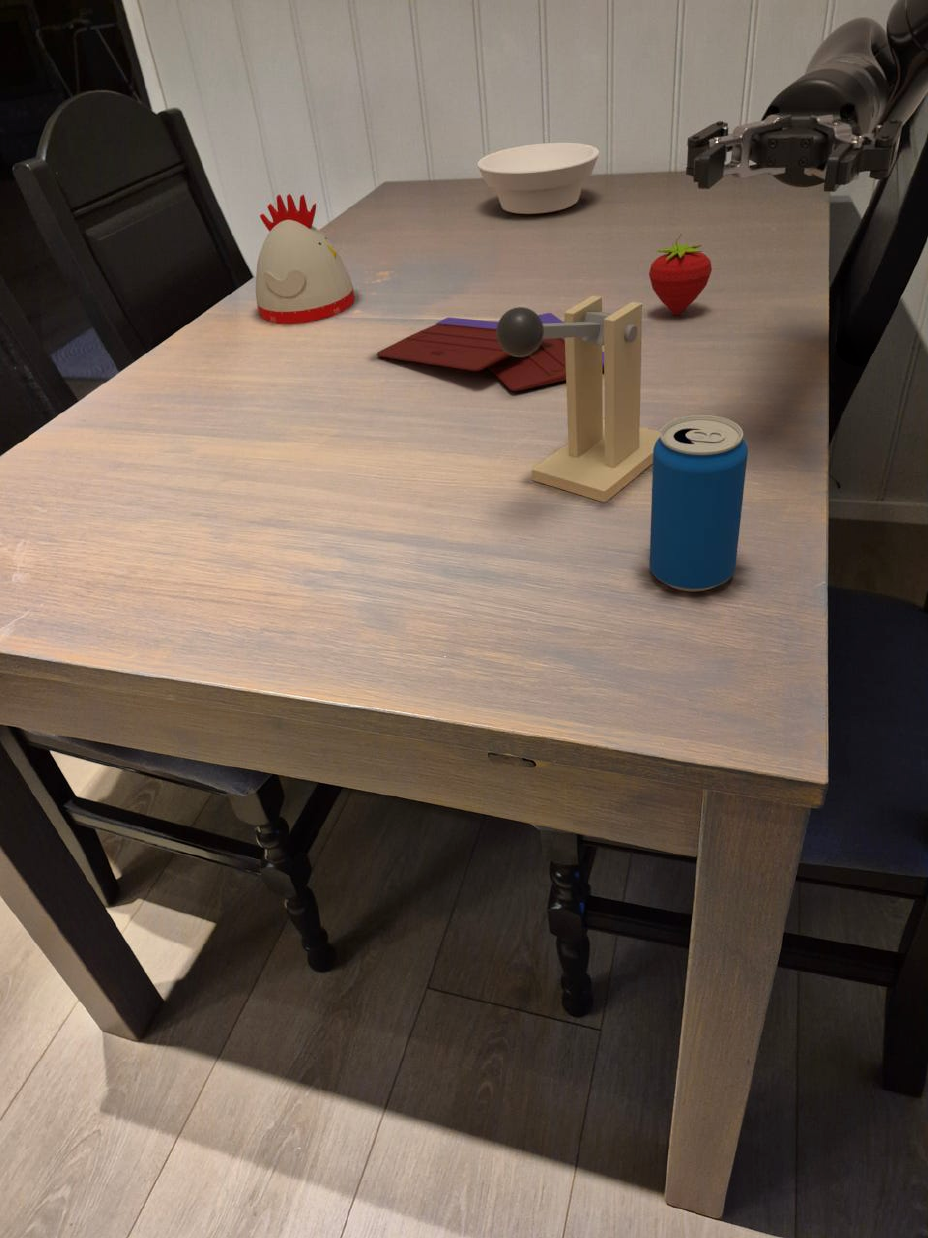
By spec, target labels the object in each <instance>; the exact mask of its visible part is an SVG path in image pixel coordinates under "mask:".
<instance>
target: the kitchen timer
mask: <svg viewBox="0 0 928 1238" xmlns="http://www.w3.org/2000/svg"><path fill="white" fill-rule="evenodd" d="M282 197H283V196H282V195H281V194H280V193H279V194H278V195H276V208H275V207H274V205H273V204H272V203H269V204H268V205H267V210H268V212H269V215H270V217H271V220H272V221H271V220H270V219H268V217H267V216H266V215H265V214H264V213H261V214H260V215H259V218H260V220H261V221H262V223H263V225H264V226H265V228H266V229H267V231H268V233H267V235H266V237H265V239H264V241H263V243H262V246H261V248H260V251H259V254H258V258H257V263H256V272H255V273H256V274H255V300H256V305H257V310H258V313H259V316H260V317H261V319H263V320H265V321H267V322H269V323H274V324H284V325H285V324H286V325H287V324H290V325H291V324H292V325H293V324H303V323H304V324H305V323H310V322H315V321H319V320H324V319H327V318H331V317H333V316H335V315H338V314H341V313H342V312H344V311H346V310H347V309H349V308H350V307H352V305H353V304H354V303H355V293H354V288H353V282H352V280H351V277H350V275H349V272H348V269H347V268H346V267H345V264H344V262H343V260H342V258H341V256H340V254H339V253H338V251H337V249H336V247H334V245H333V243H332V242H331V241H330V240H329V239H328V238H327V237H326V236H325V235H324V234H323V233H322V232H321V231H320V230H319V229H318V228H317V227H316V226H314V225H313V224H314V220H315V215H316V211H317V203H314V204H312V207H311V208H310V210H309V209H308V206H307V205H308V204H307V201H306V196H305V194H301V195H300V196H299V202H298V203H299V205H298V208H297V206H296V204H295V202H294V199H293V197H292V195H291V193H289V194H287V195H286V201H287V202H286V203H287V204H286V205H287V206H286V205H285V203H284V200H283V198H282Z"/></svg>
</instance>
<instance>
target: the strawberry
mask: <svg viewBox="0 0 928 1238" xmlns="http://www.w3.org/2000/svg"><path fill="white" fill-rule="evenodd" d="M682 234H683V233H680V235H679V236H678V237H677V239H676V240H675V243H674V242H672V247H669V248H664V249H658V250H656V252H657V253H665V254H663V255H660V256H657V258H656V259H655V260H654V261H653V262H652V263H651V265H650V269H649V271H648V277H649V281H650V284H651V287H652V290H653V291H654V293H655V294H656V296H657V297H658V299H659V300H660V301H661V303H662V304H663V305H664V306H665V307H666V308H667V309H668V310H669V312H670V313H671V314H672V315H674V316H680V315H682V314H683V313H684V312H685V311H686V310H687V308H688V307H690V305H691V304H692V303H694V302H695V300H696V299H697V298H698V297H699V296H700V294H701V293H702V292H703V290H704V289H705V288H706V286H707V285H708V282H709V279H710V276H711V274H712V271H713V267H712V261H711V259H710V258H709V257H708V256H707V255H706V254H705V253H702V252H703V251H702V250H700V249H699V248H701V247H702V244H698V245H697V244H696V245H689V244H688V243H685V244H678V241H679V239H680V237H681V236H682ZM697 248H698V249H697Z"/></svg>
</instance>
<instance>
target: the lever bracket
mask: <svg viewBox="0 0 928 1238" xmlns="http://www.w3.org/2000/svg"><path fill="white" fill-rule="evenodd" d="M586 312H603V297H602V296H599V295H591V296H589V297H587V298H586V299H584V300H582V301H581V302H579V303H577V304H575V305H574V306H572V307H571V308H569V309H567V310H565V311H564V312H563V322H564V323H573V322H585V316H586ZM642 331H643V302H636V301H631V302H630V303H628V304H626V305H625V306H623V307H622V308H620V309H618V310H616V311H615V312H613V314H612V315H610V316H608V317H607V318H605V319H604V345H598V344H593V343H588V342H583V341H582V337H571V338H565V357H566V380H565V381H566V382H565V384H566V412H567V443H566V444H564V445H563V446H562V447H560V448H559V449H557V450H556V451H555V452H553V453H552V454H550V455H549V456H548V457H547V458H545V459H544V460H542V461H541V462H540V463H539V464H537V465H535V466H534V467H532V469H531V476H532V481H534V482H537V483H540V484H544V485H547V486H549V487H553V488H557V489H560V490H563V491H566V492H570V493H573V494H576V495H579V496H583V497H584V498H585V497H586V498H588V499H591V500H592V499H593V500H595V501H598V502H601V503H604V504H605V503H607V502H608V501H609V500H610V499H612V498H613V497H614V496H615V495H616V494H618V493H619V492H620V491H621V490H622V489H623V488H625V487H626V486H627V485H629V484H630V483H631V482H632V481H633V480H635V479H636V478H637V477H638V476H639V475H641V474H642V473H643V472H644V471H645V470H647V469H648V468H649V467H650V466H651V465H653V449H654V445H655V443H656V441H657V440H658V439H659V437H660V431H661V430H655V429H651V428H648V427H643V426H641V387H642V386H641V384H642V383H641V382H642V380H641V379H642V339H643V338H642ZM602 352H604V370H602ZM603 374H604V375H603ZM603 377H604V378H603ZM603 379H604V380H603ZM603 381H604V383H603ZM603 384H604V386H603ZM603 387H604V391H603ZM603 392H604V393H603ZM603 395H604V396H603ZM603 399H604V400H603ZM603 401H604V403H603ZM603 409H604V410H603Z"/></svg>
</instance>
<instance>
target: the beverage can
mask: <svg viewBox="0 0 928 1238" xmlns="http://www.w3.org/2000/svg"><path fill="white" fill-rule="evenodd" d="M659 431H660V437H659V439H658V440H657V441H656V443H655V445H654V449H653V463H652V479H651V481H652V482H651V506H650V507H651V509H650V537H649V538H650V539H649V569H650V571H651V573H652V574H653V575H654V576H655V578H657V579H658V581H660V582H662V583H664V584H666V585H668V586H669V587H671V588H673V589H675V590H677V591H683V592H691V593H692V592H703V591H707V590H711V589H713V588H715V587H719V586H720V585H723V584H725V583H726V582H727V581H729V580H730V579H731V578H732V577H733V575H734V573H735V571H736V566H737V557H738V548H739V540H740V539H739V537H740V529H741V520H742V509H743V501H744V491H745V481H746V473H747V465H748V455H749V454H748V453H749V449H748V445H747V442H746V441H745V439H744V430H743V429H742V427H741V426H740V425H739V424H738V423H736V422H735V421H733V420H731V419H728V418H726V417H722V416H718V415H709V414H693V415H692V414H691V415H686V416H681V417H677V418H674V419H672V420H670V421H668V422H667V423H665V424H664V425H663V426H662V427H661V429H660V430H659Z"/></svg>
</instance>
